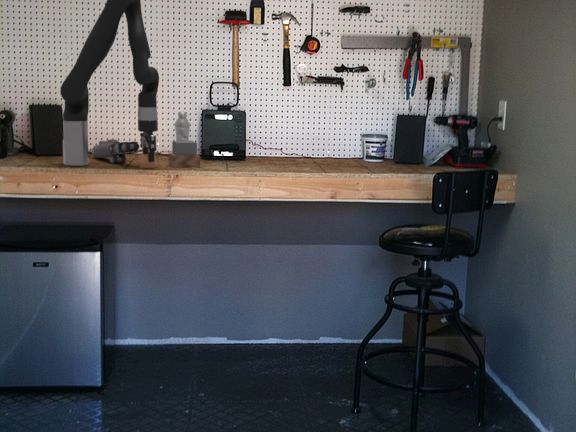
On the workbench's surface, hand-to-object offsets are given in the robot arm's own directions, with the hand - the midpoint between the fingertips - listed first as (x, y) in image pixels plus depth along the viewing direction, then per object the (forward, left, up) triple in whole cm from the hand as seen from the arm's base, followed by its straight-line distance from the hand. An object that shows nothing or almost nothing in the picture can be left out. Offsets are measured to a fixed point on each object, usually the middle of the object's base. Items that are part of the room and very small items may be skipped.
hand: (148, 160), depth 297 cm
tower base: (+14, 0, -3) cm, 15 cm away
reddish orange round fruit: (-1, 0, -3) cm, 3 cm away
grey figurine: (+20, +23, -3) cm, 31 cm away
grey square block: (+15, 0, +2) cm, 15 cm away
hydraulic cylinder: (-10, +20, -3) cm, 22 cm away
